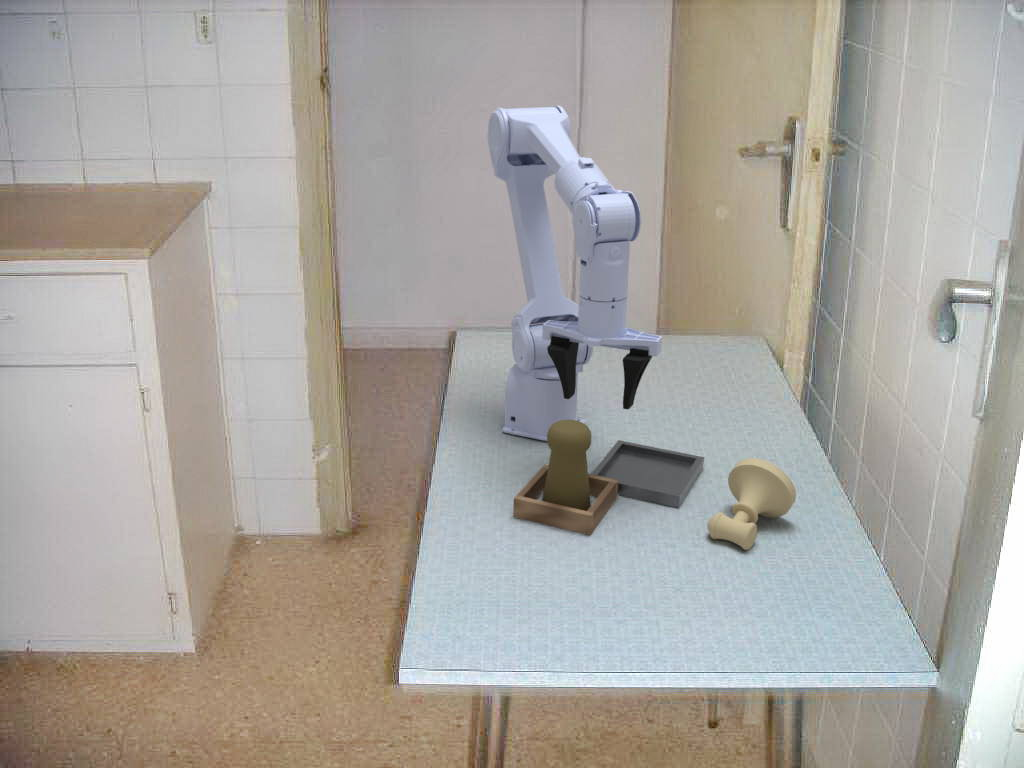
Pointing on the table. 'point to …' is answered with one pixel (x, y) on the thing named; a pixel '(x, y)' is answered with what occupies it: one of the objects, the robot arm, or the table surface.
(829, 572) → the table surface
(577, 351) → the robot arm
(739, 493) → the door knob
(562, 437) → the olive peg figure
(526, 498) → the walnut stand
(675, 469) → the grey square tray
